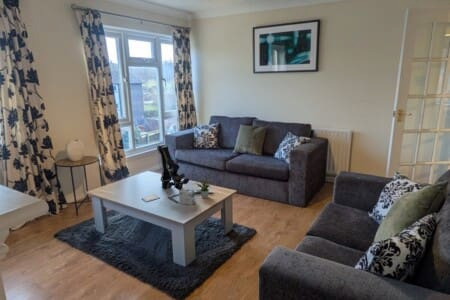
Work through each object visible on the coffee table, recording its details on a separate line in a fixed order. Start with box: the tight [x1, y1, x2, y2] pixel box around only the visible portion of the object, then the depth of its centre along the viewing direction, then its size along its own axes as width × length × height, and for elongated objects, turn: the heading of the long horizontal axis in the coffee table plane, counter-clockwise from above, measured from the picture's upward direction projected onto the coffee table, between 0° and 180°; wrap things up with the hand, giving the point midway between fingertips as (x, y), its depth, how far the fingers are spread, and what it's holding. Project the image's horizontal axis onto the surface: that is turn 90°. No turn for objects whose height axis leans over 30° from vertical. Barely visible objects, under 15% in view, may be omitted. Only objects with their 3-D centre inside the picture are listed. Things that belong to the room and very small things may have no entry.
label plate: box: [141, 193, 161, 203], centre depth 243 cm, size 12×9×1 cm
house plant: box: [195, 177, 213, 199], centre depth 244 cm, size 14×14×16 cm
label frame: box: [167, 193, 180, 204], centre depth 242 cm, size 13×15×1 cm
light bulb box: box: [178, 187, 196, 206], centre depth 232 cm, size 11×7×11 cm, turn 75°
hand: (182, 192), depth 236 cm, fingers closed, pressing on light bulb box
